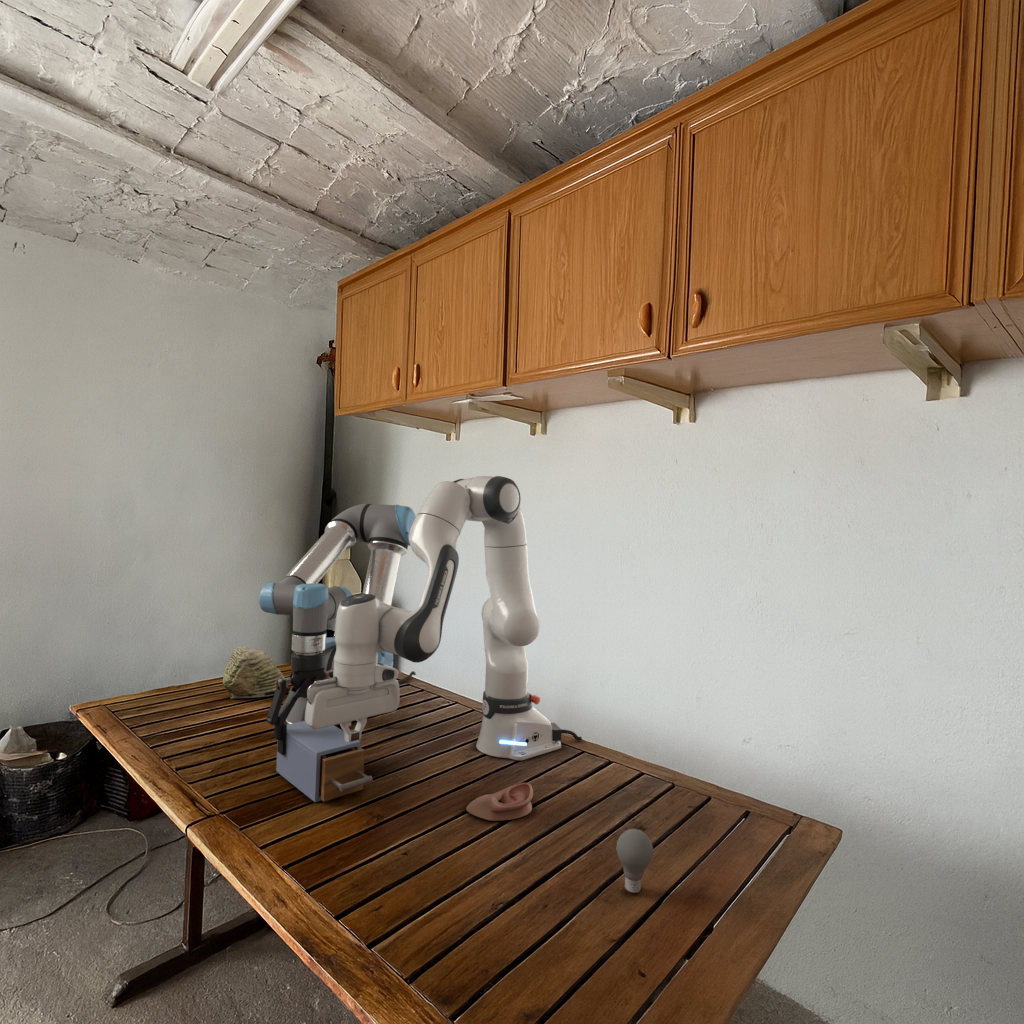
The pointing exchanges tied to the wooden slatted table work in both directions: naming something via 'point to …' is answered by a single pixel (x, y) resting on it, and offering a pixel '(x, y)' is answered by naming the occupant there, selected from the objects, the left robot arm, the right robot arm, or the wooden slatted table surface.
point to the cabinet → (309, 755)
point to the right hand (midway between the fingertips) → (352, 740)
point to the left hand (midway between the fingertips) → (304, 747)
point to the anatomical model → (503, 803)
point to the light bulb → (634, 857)
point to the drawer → (342, 773)
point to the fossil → (250, 674)
